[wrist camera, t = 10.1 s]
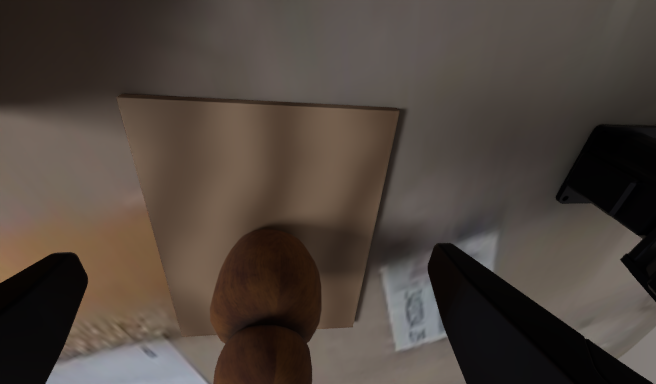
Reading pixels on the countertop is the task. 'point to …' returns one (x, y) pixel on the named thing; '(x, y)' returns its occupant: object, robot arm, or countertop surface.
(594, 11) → the countertop surface
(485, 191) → the countertop surface
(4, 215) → the countertop surface
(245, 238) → the wooden figurine
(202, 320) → the light brown wooden board
